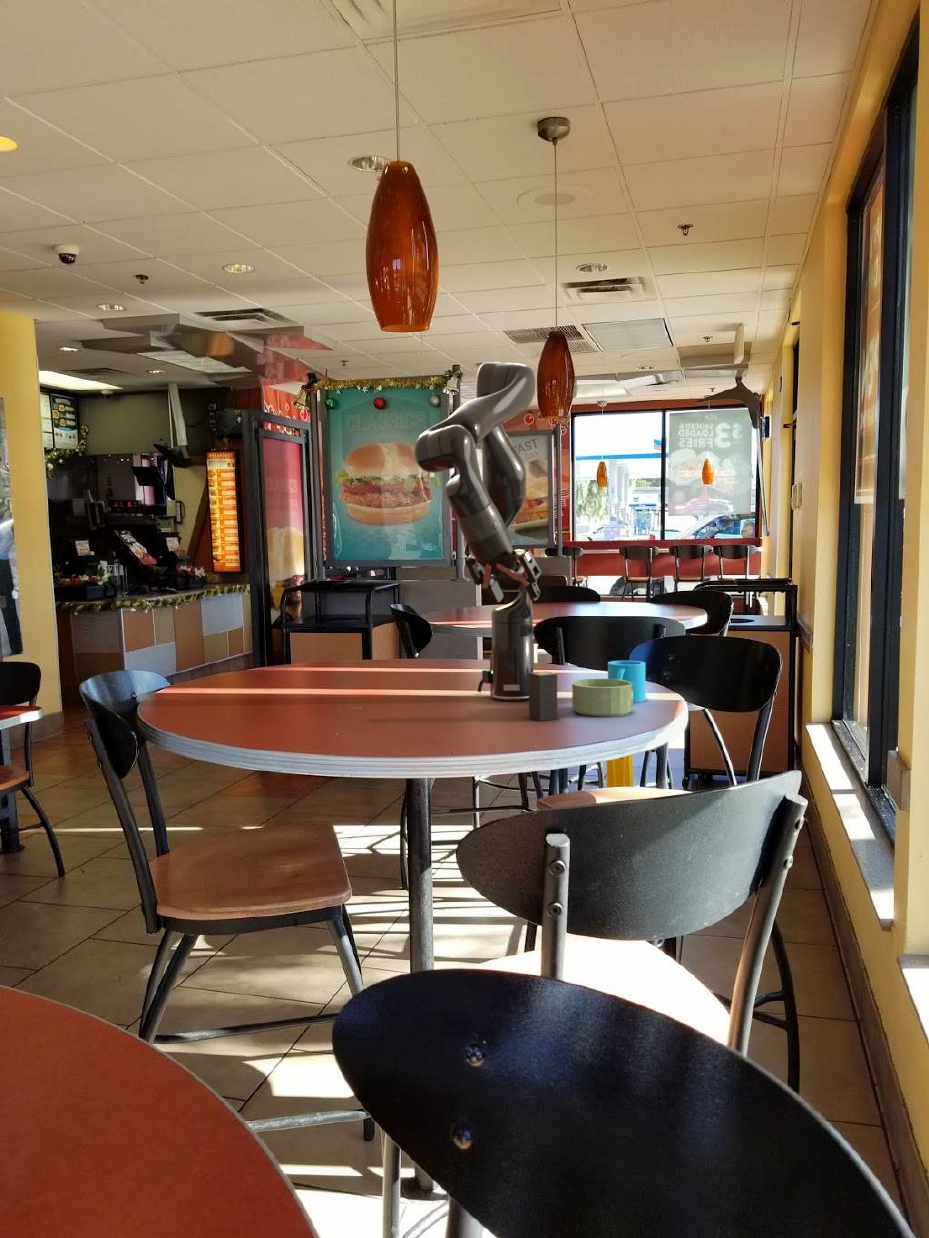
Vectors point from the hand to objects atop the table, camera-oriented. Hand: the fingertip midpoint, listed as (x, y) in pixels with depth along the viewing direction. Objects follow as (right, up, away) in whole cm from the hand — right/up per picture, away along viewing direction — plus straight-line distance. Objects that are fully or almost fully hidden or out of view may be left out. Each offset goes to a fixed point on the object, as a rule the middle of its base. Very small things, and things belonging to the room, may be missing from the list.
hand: (517, 599), depth 174 cm
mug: (+25, -22, +28) cm, 43 cm away
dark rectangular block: (+6, -24, +9) cm, 26 cm away
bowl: (+18, -23, +15) cm, 33 cm away
